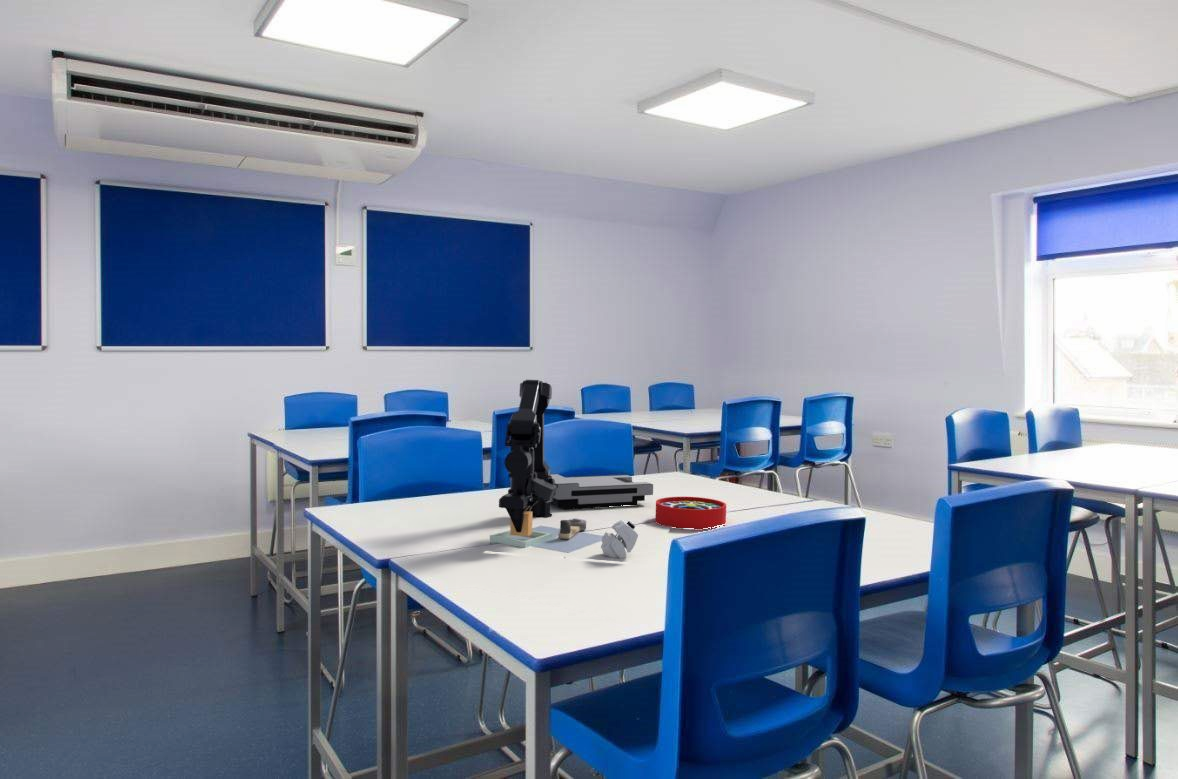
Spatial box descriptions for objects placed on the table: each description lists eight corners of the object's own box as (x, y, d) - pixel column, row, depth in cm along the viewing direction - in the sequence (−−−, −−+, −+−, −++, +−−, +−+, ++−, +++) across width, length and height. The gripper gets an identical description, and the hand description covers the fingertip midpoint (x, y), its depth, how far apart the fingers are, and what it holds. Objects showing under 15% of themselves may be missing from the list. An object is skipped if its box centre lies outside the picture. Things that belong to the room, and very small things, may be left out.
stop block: (514, 531, 203) (514, 510, 203) (532, 533, 202) (532, 511, 202) (510, 535, 200) (510, 513, 199) (528, 536, 199) (528, 514, 198)
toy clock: (694, 494, 243) (741, 506, 226) (694, 513, 243) (740, 526, 227) (641, 499, 232) (686, 512, 216) (641, 519, 233) (686, 534, 216)
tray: (489, 543, 199) (489, 535, 199) (516, 535, 208) (516, 527, 208) (525, 549, 193) (525, 542, 193) (551, 541, 203) (551, 533, 203)
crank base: (494, 541, 201) (494, 539, 201) (541, 527, 218) (541, 525, 218) (568, 555, 189) (568, 552, 189) (611, 539, 206) (611, 536, 206)
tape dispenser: (618, 568, 185) (646, 535, 186) (597, 550, 184) (625, 517, 185) (613, 562, 191) (640, 530, 192) (592, 544, 190) (620, 512, 191)
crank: (570, 525, 217) (570, 510, 216) (588, 527, 215) (588, 511, 215) (554, 537, 202) (554, 521, 202) (573, 539, 201) (573, 522, 201)
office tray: (652, 506, 254) (653, 480, 253) (557, 511, 241) (557, 484, 241) (625, 494, 273) (625, 470, 272) (535, 499, 261) (536, 474, 260)
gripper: (543, 475, 189) (542, 541, 190) (562, 465, 208) (561, 524, 208) (498, 473, 192) (497, 538, 192) (521, 462, 210) (520, 521, 211)
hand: (521, 530), depth 201 cm, fingers closed on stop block, 3 cm apart
